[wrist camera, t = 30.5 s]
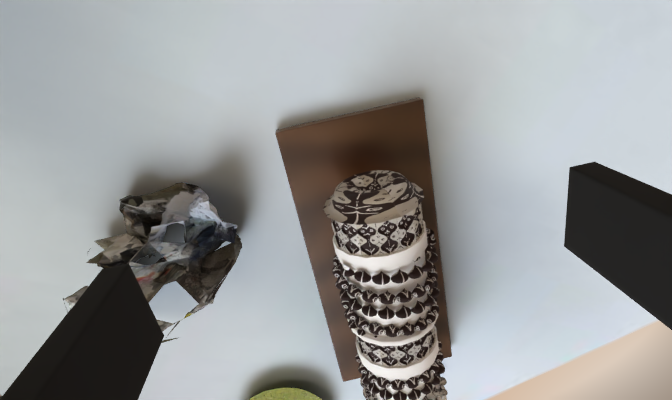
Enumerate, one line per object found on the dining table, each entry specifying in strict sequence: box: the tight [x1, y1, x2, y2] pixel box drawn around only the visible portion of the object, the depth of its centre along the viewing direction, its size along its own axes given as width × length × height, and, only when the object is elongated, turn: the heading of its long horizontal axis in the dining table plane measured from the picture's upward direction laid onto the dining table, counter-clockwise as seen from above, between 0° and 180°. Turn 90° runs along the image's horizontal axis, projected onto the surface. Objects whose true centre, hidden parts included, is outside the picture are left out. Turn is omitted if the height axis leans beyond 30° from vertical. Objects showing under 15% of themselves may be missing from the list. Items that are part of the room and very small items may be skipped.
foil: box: [63, 183, 242, 343], centre depth 35 cm, size 12×11×15 cm
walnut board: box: [276, 98, 452, 382], centre depth 40 cm, size 30×13×1 cm, turn 12°
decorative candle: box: [323, 170, 447, 400], centre depth 36 cm, size 9×9×25 cm
